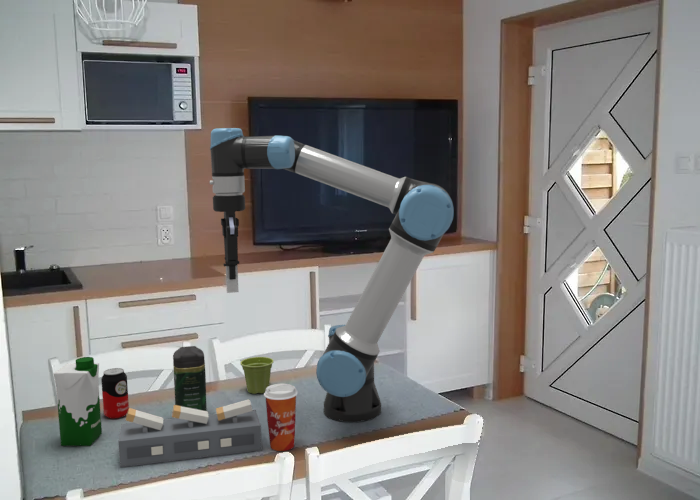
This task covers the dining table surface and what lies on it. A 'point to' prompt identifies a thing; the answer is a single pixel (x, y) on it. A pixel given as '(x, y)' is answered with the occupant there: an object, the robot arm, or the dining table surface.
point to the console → (188, 439)
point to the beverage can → (115, 393)
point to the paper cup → (281, 415)
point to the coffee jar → (190, 378)
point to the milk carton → (78, 402)
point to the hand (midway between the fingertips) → (232, 291)
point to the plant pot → (257, 373)
